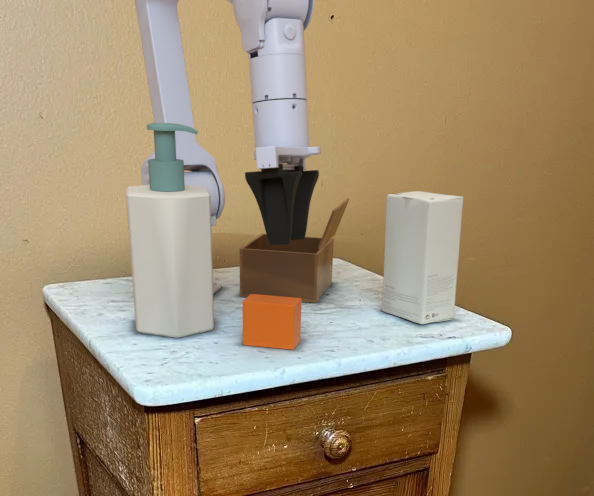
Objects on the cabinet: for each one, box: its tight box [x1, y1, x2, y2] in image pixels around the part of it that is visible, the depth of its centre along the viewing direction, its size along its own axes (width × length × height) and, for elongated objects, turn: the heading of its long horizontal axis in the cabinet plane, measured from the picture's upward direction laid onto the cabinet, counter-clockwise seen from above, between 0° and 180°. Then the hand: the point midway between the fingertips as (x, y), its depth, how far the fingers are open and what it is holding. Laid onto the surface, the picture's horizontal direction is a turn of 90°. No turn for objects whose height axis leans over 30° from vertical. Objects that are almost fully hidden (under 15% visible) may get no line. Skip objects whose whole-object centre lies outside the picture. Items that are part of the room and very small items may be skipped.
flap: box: [318, 197, 350, 250], centre depth 105 cm, size 12×5×1 cm
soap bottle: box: [125, 122, 215, 339], centre depth 88 cm, size 10×9×22 cm
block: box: [241, 294, 302, 351], centre depth 88 cm, size 4×6×5 cm, turn 77°
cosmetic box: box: [381, 190, 465, 325], centre depth 97 cm, size 8×6×15 cm
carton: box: [239, 233, 335, 304], centre depth 110 cm, size 12×11×6 cm
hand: (288, 242), depth 85 cm, fingers open, 7 cm apart
